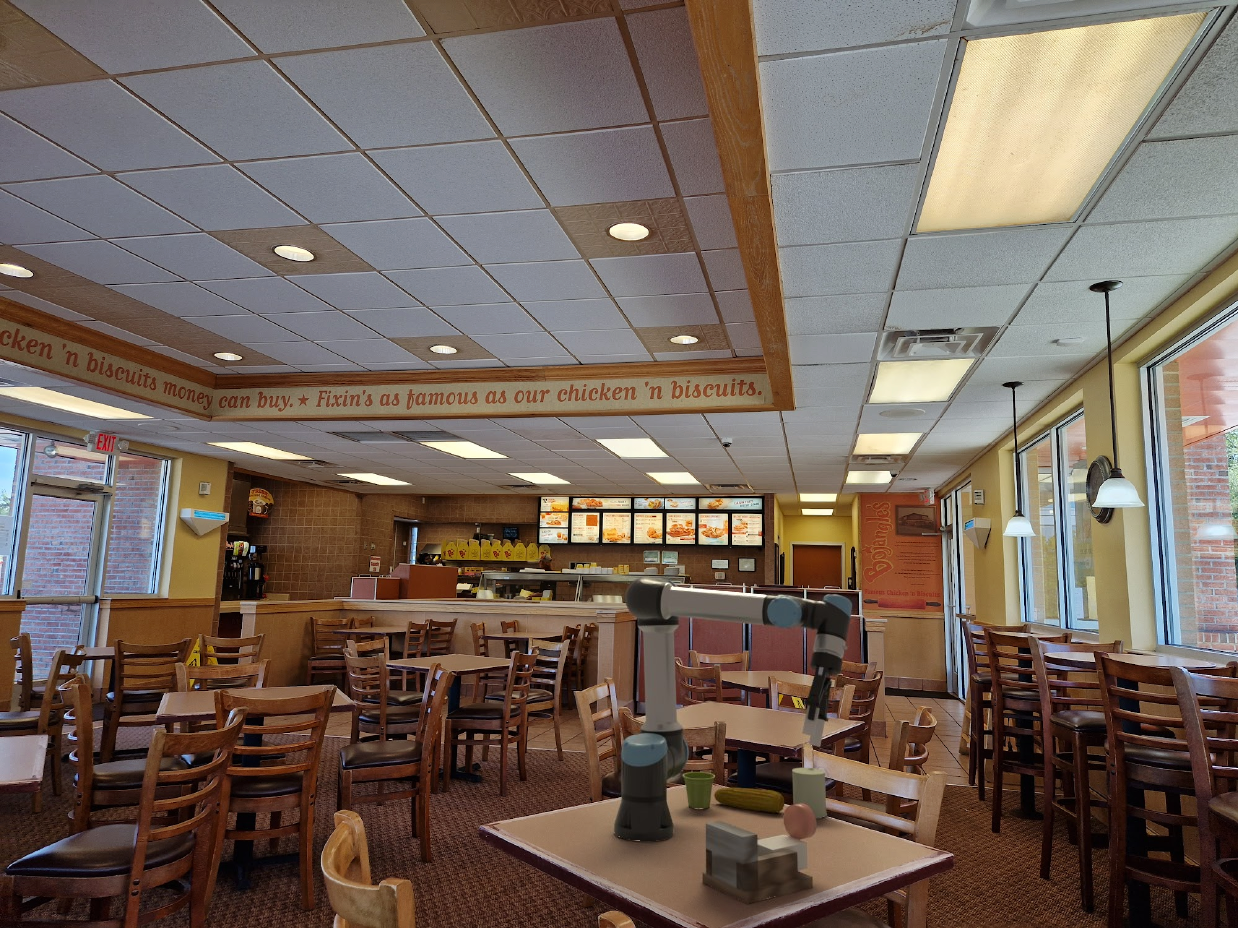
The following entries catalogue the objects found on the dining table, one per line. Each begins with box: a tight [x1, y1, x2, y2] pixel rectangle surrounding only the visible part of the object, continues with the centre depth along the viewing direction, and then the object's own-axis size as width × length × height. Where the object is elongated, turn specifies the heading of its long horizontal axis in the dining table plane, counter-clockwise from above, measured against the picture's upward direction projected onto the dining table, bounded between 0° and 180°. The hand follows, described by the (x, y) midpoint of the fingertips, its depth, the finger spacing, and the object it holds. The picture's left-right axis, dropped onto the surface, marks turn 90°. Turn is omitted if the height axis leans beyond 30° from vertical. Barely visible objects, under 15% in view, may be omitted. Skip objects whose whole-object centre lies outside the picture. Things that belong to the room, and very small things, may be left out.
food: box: [713, 787, 785, 814], centre depth 226 cm, size 21×6×6 cm, turn 59°
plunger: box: [758, 803, 817, 872], centre depth 170 cm, size 13×7×12 cm, turn 123°
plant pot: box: [682, 771, 716, 809], centre depth 227 cm, size 9×9×9 cm
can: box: [791, 767, 828, 820], centre depth 221 cm, size 9×9×12 cm
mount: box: [701, 820, 814, 905], centre depth 165 cm, size 18×14×12 cm
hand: (811, 740), depth 190 cm, fingers open, 13 cm apart
